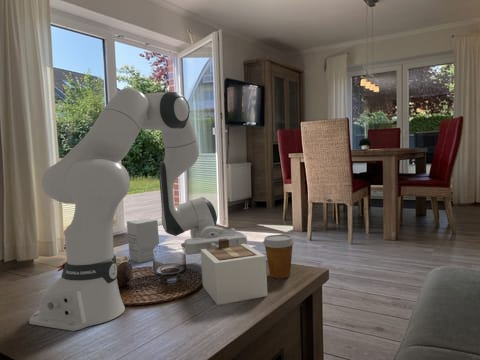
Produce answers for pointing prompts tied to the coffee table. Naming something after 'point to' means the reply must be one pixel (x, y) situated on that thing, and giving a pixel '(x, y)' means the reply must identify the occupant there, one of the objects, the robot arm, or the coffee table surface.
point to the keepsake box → (234, 276)
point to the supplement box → (142, 239)
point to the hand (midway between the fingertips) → (222, 248)
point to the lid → (229, 251)
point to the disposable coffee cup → (279, 255)
